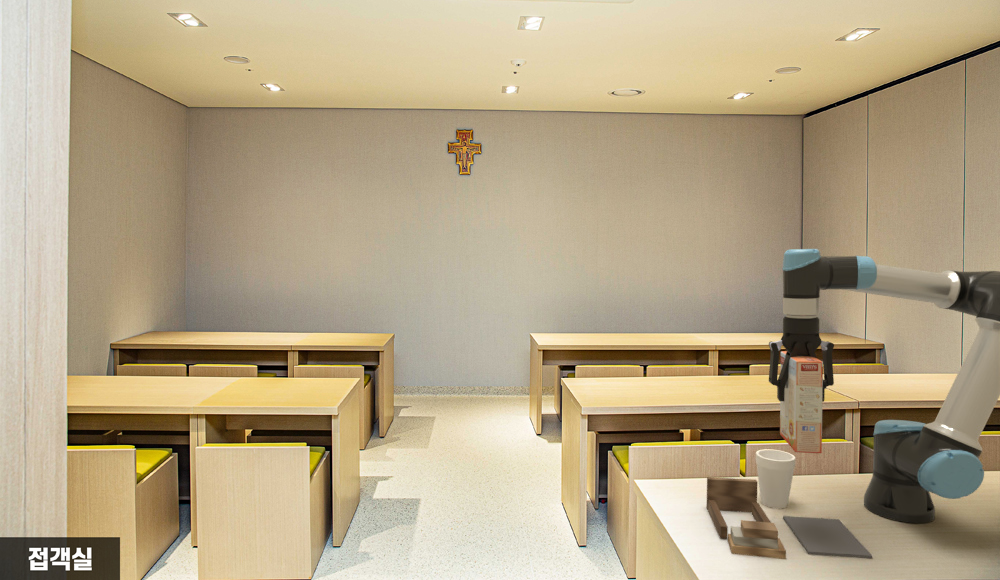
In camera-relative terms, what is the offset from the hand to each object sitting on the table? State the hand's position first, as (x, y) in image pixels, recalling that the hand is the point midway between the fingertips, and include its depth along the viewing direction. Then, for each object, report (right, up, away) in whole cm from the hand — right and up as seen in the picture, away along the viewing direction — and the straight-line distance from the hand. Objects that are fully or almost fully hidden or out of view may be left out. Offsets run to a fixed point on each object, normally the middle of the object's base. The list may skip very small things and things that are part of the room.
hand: (800, 414), depth 140 cm
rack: (-12, -28, +7) cm, 31 cm away
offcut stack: (-13, -29, -6) cm, 32 cm away
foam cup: (+2, -27, +18) cm, 33 cm away
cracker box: (0, -7, 0) cm, 7 cm away
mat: (+5, -28, 0) cm, 29 cm away
